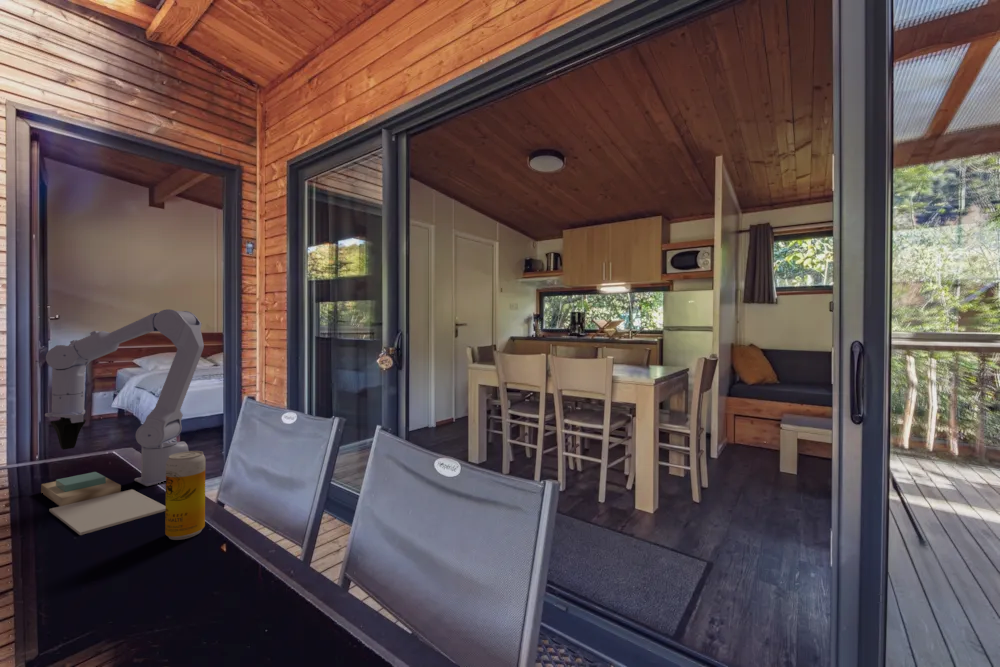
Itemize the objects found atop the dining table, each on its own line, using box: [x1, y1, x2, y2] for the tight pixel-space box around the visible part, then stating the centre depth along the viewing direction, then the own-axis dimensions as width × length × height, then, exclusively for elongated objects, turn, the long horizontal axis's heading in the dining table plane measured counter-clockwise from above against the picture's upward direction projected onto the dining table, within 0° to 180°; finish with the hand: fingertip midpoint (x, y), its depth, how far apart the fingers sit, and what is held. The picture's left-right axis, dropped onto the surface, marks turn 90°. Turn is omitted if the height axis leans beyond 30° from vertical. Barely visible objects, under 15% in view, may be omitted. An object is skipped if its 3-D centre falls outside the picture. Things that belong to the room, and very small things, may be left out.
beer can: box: [164, 450, 206, 541], centre depth 82 cm, size 6×6×15 cm
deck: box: [40, 477, 122, 507], centre depth 102 cm, size 10×16×2 cm, turn 58°
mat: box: [48, 488, 166, 536], centre depth 92 cm, size 14×20×1 cm
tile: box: [55, 471, 107, 492], centre depth 102 cm, size 7×7×2 cm
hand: (67, 448), depth 107 cm, fingers closed
